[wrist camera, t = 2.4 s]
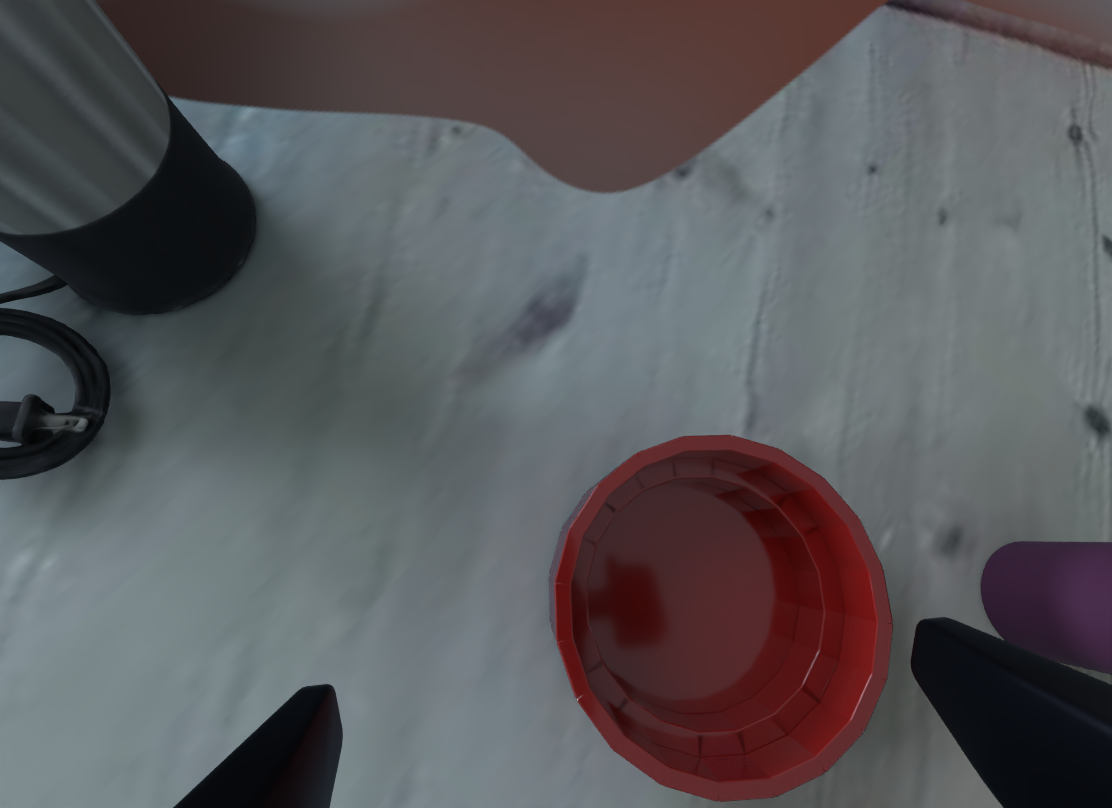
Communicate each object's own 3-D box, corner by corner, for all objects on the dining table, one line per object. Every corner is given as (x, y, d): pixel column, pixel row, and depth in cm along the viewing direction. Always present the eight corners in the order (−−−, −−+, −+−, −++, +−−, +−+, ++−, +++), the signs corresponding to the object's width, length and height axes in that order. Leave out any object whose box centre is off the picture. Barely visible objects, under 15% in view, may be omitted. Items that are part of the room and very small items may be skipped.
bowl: (844, 737, 22) (923, 787, 18) (553, 757, 21) (562, 815, 17) (800, 449, 25) (859, 431, 21) (544, 456, 24) (549, 439, 20)
